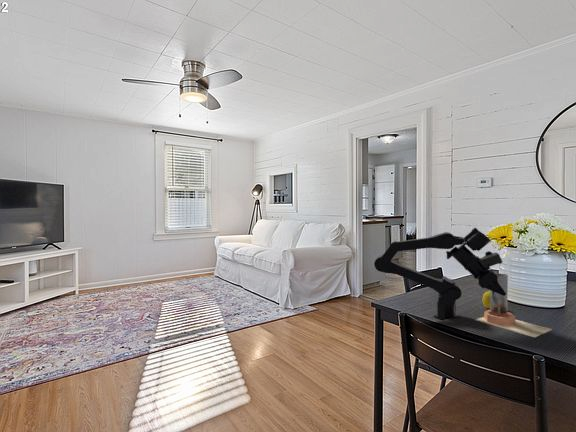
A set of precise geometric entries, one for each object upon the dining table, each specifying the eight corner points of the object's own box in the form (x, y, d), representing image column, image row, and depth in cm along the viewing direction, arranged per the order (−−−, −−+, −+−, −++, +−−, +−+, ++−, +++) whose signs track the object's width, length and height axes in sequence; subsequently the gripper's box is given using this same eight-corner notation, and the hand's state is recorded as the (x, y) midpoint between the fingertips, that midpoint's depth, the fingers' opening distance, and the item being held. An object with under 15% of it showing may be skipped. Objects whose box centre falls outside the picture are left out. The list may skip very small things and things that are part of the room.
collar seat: (506, 327, 108) (505, 319, 108) (480, 319, 115) (480, 312, 115) (519, 322, 112) (519, 315, 112) (493, 315, 119) (493, 308, 119)
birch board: (534, 340, 99) (534, 337, 99) (474, 322, 115) (474, 319, 115) (552, 332, 105) (552, 329, 105) (493, 316, 121) (493, 313, 121)
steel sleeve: (505, 314, 110) (505, 276, 110) (488, 311, 114) (488, 274, 113) (509, 311, 113) (509, 274, 113) (493, 307, 117) (493, 272, 117)
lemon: (479, 309, 129) (479, 289, 129) (489, 307, 131) (489, 288, 131) (492, 313, 124) (492, 292, 124) (502, 311, 126) (502, 291, 126)
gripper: (490, 248, 106) (531, 284, 102) (482, 242, 123) (517, 272, 119) (463, 270, 109) (501, 306, 105) (459, 261, 126) (491, 291, 122)
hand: (503, 293), depth 113 cm, fingers closed on steel sleeve, 5 cm apart
